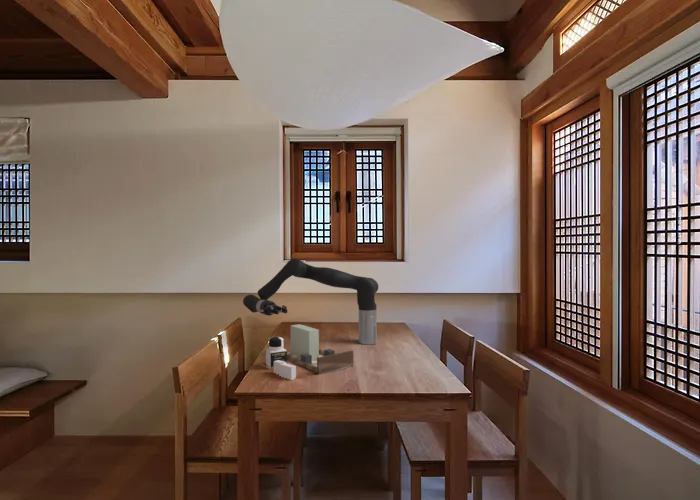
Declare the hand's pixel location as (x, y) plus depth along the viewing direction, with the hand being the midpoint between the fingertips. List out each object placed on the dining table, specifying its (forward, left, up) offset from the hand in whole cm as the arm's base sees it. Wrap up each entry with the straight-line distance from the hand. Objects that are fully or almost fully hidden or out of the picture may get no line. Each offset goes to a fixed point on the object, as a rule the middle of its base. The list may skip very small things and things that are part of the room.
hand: (282, 311), depth 207 cm
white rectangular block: (-12, +40, -19) cm, 46 cm away
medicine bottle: (-6, +29, -18) cm, 34 cm away
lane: (-19, +19, -18) cm, 33 cm away
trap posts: (-22, +22, -18) cm, 36 cm away
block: (-14, +14, -17) cm, 27 cm away
